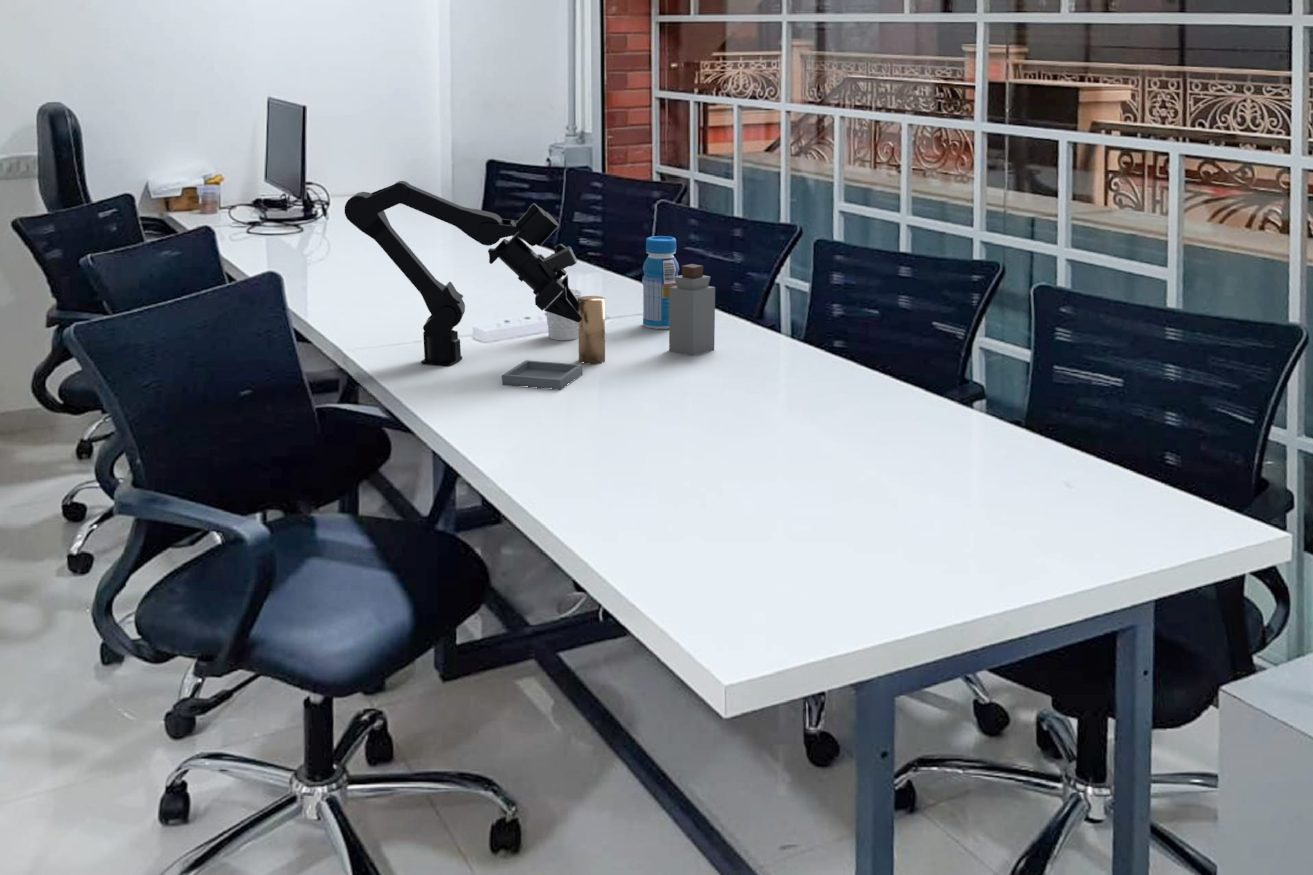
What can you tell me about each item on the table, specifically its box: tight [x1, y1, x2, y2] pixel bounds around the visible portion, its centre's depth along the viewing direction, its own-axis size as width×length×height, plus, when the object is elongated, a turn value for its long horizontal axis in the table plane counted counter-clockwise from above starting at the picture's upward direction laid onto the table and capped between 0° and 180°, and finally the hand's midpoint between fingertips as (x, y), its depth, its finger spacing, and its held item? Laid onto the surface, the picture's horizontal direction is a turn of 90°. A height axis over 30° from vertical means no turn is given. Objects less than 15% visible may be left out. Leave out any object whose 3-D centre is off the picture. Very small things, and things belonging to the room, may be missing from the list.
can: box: [577, 295, 606, 365], centre depth 282 cm, size 5×5×13 cm
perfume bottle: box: [668, 263, 716, 357], centre depth 290 cm, size 7×7×18 cm
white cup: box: [545, 288, 582, 341], centre depth 302 cm, size 8×8×10 cm
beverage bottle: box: [641, 235, 680, 330], centre depth 311 cm, size 8×8×20 cm
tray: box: [501, 359, 584, 391], centre depth 269 cm, size 12×12×2 cm
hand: (581, 315), depth 281 cm, fingers open, 9 cm apart
